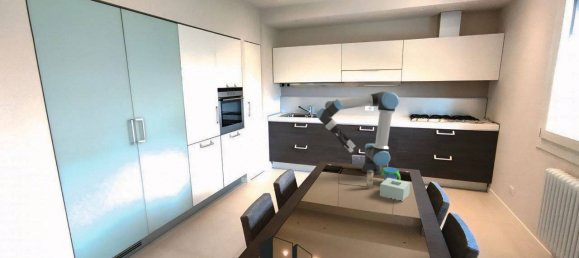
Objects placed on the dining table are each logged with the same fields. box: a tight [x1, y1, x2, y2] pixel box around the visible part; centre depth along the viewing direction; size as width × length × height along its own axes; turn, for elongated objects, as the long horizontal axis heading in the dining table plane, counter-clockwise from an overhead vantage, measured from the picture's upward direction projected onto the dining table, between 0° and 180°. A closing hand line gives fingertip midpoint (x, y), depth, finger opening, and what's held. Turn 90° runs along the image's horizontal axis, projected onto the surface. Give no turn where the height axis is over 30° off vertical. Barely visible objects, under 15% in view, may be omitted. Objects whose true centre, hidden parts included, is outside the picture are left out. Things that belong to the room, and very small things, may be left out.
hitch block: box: [379, 178, 411, 202], centre depth 164 cm, size 14×14×8 cm
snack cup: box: [380, 166, 402, 181], centre depth 184 cm, size 16×10×10 cm
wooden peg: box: [365, 170, 374, 190], centre depth 175 cm, size 4×4×12 cm
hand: (353, 149), depth 182 cm, fingers open, 13 cm apart
